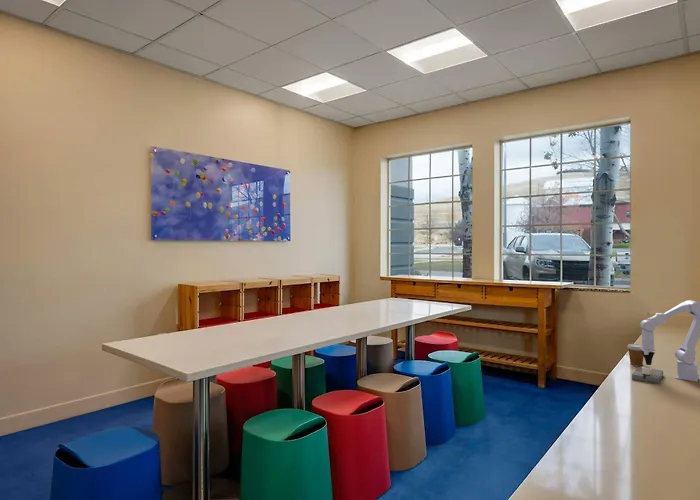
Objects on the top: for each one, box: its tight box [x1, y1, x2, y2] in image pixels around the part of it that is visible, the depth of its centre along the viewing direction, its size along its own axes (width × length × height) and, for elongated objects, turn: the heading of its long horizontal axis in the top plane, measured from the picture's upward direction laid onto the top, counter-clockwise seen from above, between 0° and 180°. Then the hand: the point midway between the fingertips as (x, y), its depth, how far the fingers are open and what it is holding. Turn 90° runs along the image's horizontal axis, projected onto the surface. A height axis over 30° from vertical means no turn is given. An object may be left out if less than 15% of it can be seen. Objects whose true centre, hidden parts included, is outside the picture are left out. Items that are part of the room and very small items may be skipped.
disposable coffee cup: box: [627, 343, 645, 367], centre depth 271 cm, size 10×10×12 cm
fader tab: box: [641, 365, 651, 376], centre depth 241 cm, size 4×3×5 cm
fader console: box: [631, 366, 664, 385], centre depth 244 cm, size 12×19×3 cm, turn 137°
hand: (648, 364), depth 246 cm, fingers closed
